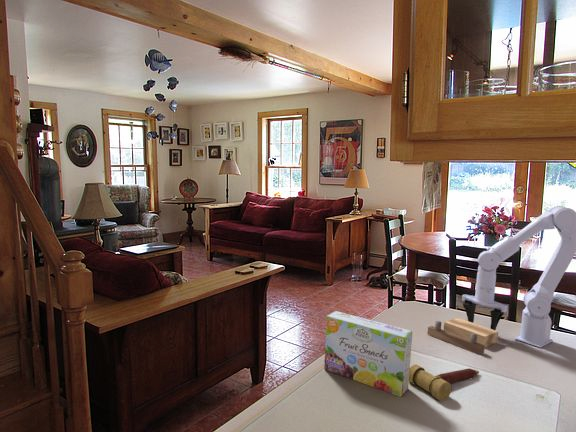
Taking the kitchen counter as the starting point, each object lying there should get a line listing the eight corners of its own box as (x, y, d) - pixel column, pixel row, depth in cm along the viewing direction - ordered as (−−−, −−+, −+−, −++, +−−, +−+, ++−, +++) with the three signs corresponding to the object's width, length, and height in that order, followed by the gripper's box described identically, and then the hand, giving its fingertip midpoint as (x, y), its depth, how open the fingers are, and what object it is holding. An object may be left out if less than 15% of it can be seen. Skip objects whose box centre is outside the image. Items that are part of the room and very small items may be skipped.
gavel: (463, 355, 115) (496, 372, 107) (461, 371, 116) (494, 389, 107) (407, 365, 105) (439, 384, 96) (405, 382, 106) (436, 403, 97)
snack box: (322, 370, 110) (325, 315, 108) (333, 363, 114) (335, 309, 113) (401, 398, 98) (406, 336, 96) (409, 388, 102) (413, 329, 101)
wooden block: (457, 328, 144) (458, 317, 144) (497, 343, 133) (498, 331, 133) (443, 333, 140) (444, 321, 139) (483, 349, 129) (484, 336, 128)
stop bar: (431, 333, 139) (432, 318, 138) (484, 353, 125) (485, 337, 124) (427, 334, 137) (428, 319, 137) (480, 354, 123) (482, 338, 123)
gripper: (513, 291, 136) (509, 331, 137) (470, 280, 147) (467, 318, 149) (503, 294, 132) (499, 336, 133) (460, 283, 143) (456, 321, 144)
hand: (481, 326), depth 141 cm, fingers open, 7 cm apart
